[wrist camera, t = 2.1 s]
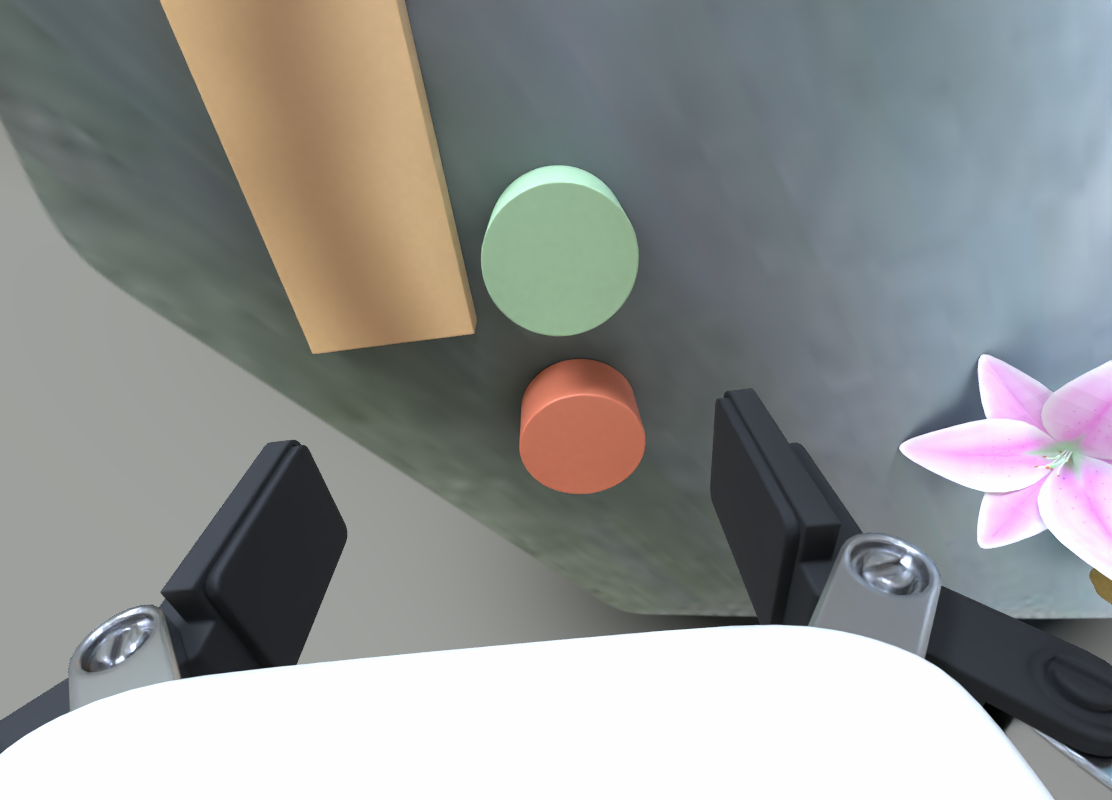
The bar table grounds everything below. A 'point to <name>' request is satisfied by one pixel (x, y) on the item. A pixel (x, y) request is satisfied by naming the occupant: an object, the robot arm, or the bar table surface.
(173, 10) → the board
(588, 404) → the terracotta disc
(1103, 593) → the cupcake
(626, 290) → the sage disc
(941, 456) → the lily
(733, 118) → the bar table surface
